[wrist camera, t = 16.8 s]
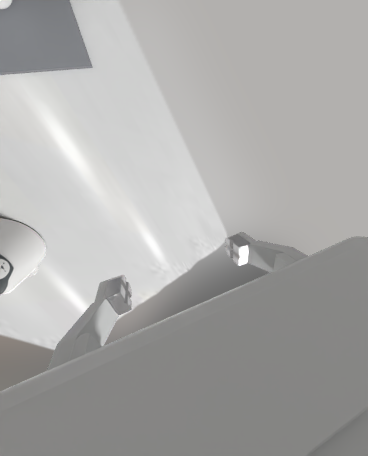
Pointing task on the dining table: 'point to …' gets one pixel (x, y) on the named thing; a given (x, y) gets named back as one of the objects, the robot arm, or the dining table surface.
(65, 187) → the dining table surface
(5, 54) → the rubber mat
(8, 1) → the drinking glass
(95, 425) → the robot arm
